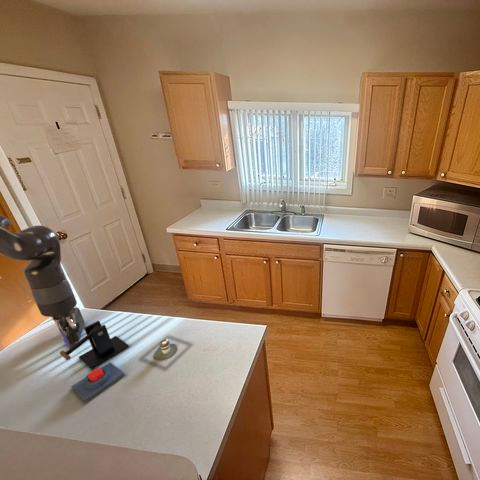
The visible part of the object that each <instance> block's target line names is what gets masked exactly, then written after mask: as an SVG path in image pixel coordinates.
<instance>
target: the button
mask: <svg viewBox="0 0 480 480" xmlns="http://www.w3.org/2000/svg"><path fill="white" fill-rule="evenodd" d="M100 368H101V367H99V368H98V367H97V368H94V369H92V370H91V371H90V372H89V373H88V374H89V375H88V374H87V375H88V377H89V379H90V381H92V382H94V381H97V380H99V379H100V378H102V377H103V375H104V373H103V370H102V369H100Z"/></svg>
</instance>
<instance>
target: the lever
mask: <svg viewBox="0 0 480 480" xmlns="http://www.w3.org/2000/svg"><path fill="white" fill-rule="evenodd" d="M97 328H99V326H98V325H95V326H94V327H93V328H91V329H90V330H89V332H91V331H93V330H95V329H97ZM89 338H91V335H90V333H89V334H88V335H87V334H86V335H85V336H84V337H82V338H81V339H79V342H78V343H77V344H75V345H74V346H73V347H71V348H69V349H68V350H66V351H65V350H63V349H62V350H60V351H59V355H61V356H62V358H64V360H66V361H70V360H71V358H72V357H71V355H70V354H72V353H73V352H75V351H76V350H77V349H78V348H79V347H81V346H82V345H84V343H85V342H87V341H89Z"/></svg>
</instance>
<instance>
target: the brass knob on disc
mask: <svg viewBox="0 0 480 480" xmlns="http://www.w3.org/2000/svg"><path fill="white" fill-rule="evenodd" d="M177 351H178V346H177V345H176V344H174V343H171V342H170V340H169V339H167V338H166V339H163V340H161V341H160V342H159V347H158V348H157V349H156V351H154V353H153V356H154V359H155V360H158V361H163V360H167V359H170V358H171V357H173V356H174V355H175V354H176V353H177Z"/></svg>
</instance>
